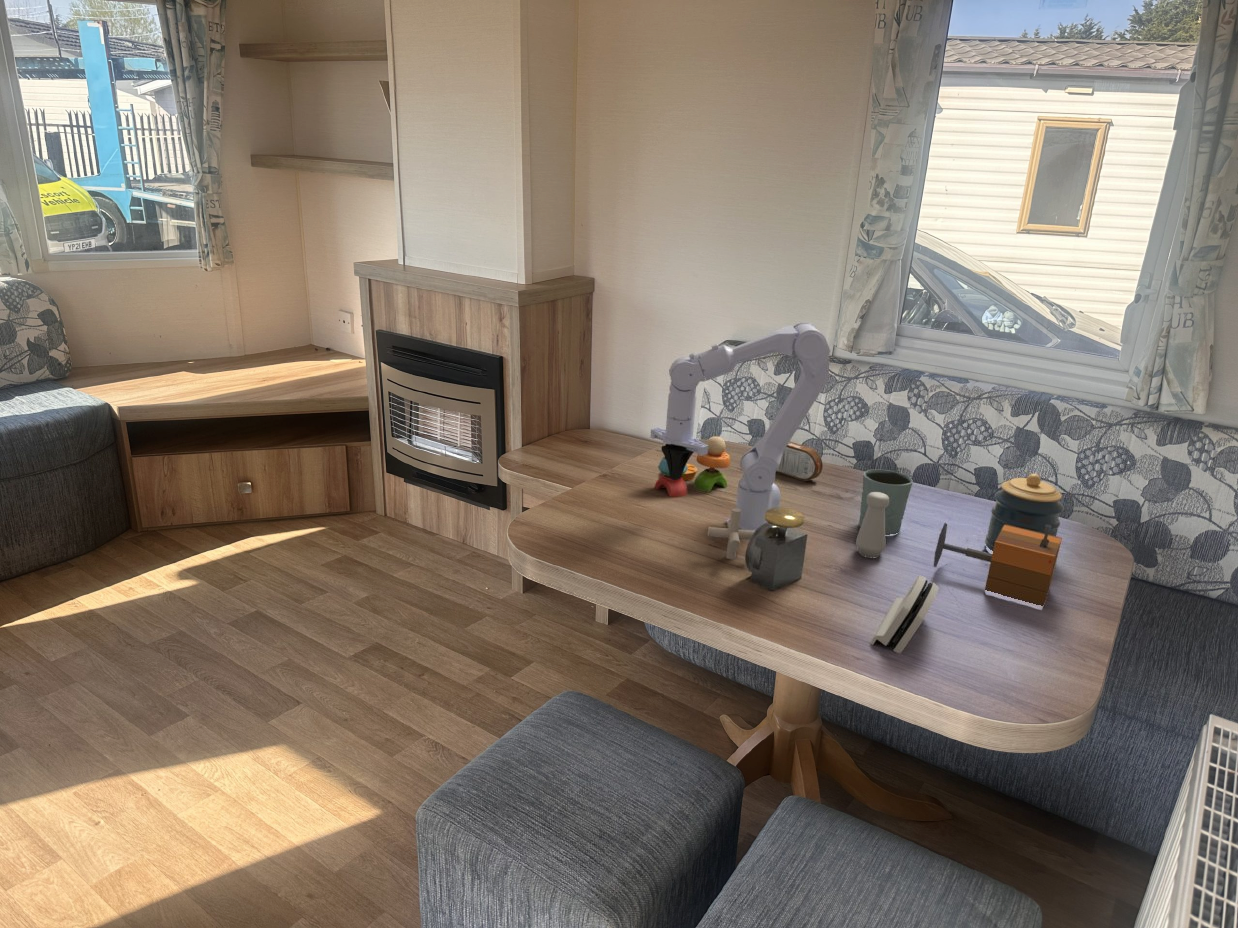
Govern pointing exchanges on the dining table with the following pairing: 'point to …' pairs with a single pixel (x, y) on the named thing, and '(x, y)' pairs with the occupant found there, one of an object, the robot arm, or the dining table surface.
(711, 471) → the colourful wooden stacking toy
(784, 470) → the tin
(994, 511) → the canister
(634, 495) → the dining table surface
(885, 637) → the beige slotted block
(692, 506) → the dining table surface
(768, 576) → the kitchen scale
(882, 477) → the green cup
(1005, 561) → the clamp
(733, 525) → the pipe connector
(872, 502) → the salt shaker
